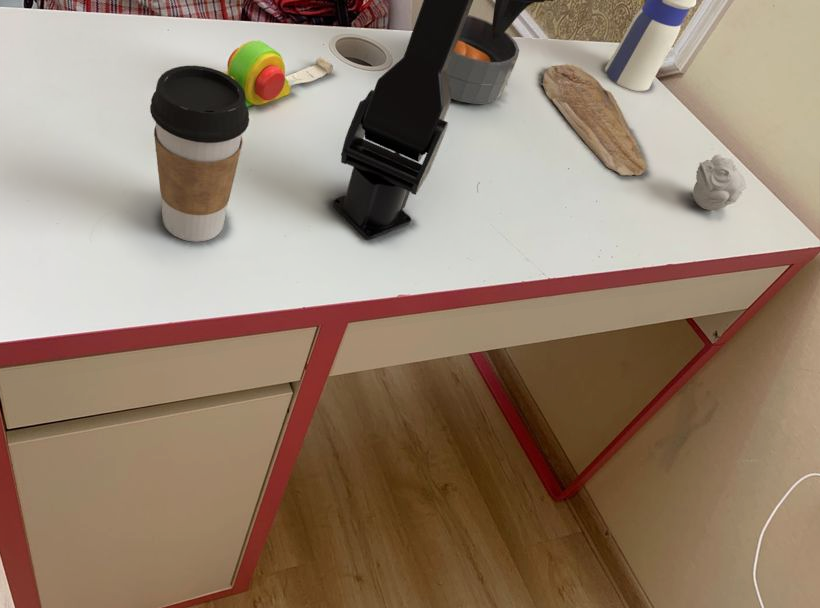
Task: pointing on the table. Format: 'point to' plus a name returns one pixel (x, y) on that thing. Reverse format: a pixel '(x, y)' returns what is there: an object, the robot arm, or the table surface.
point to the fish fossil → (594, 117)
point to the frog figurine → (717, 183)
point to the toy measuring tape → (268, 72)
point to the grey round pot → (481, 64)
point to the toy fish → (470, 52)
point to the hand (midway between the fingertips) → (480, 19)
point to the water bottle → (647, 43)
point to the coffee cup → (197, 147)
